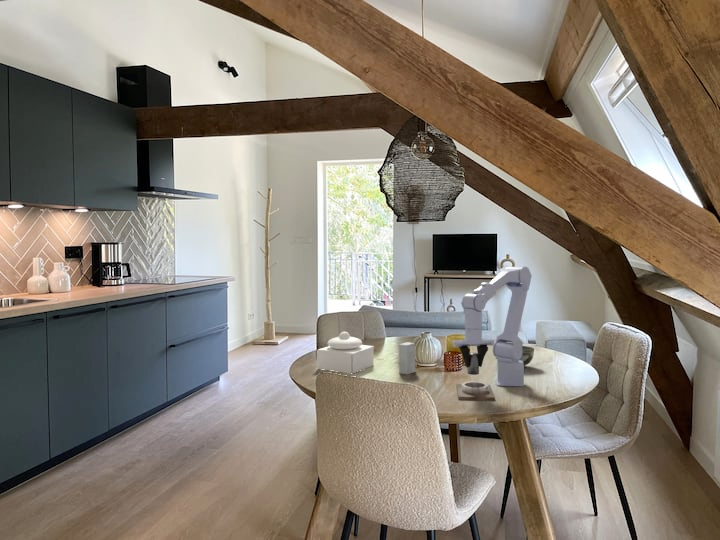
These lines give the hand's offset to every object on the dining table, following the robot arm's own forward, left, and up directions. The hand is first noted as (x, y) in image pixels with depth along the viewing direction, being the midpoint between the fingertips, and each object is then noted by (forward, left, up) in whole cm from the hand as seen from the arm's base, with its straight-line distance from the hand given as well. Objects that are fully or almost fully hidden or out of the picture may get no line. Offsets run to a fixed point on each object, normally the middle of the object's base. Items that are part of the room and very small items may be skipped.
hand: (473, 366), depth 188 cm
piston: (0, 0, -2) cm, 3 cm away
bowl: (-21, -42, -10) cm, 48 cm away
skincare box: (+25, -28, -10) cm, 38 cm away
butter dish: (+51, -34, -10) cm, 62 cm away
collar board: (0, 0, -9) cm, 9 cm away
